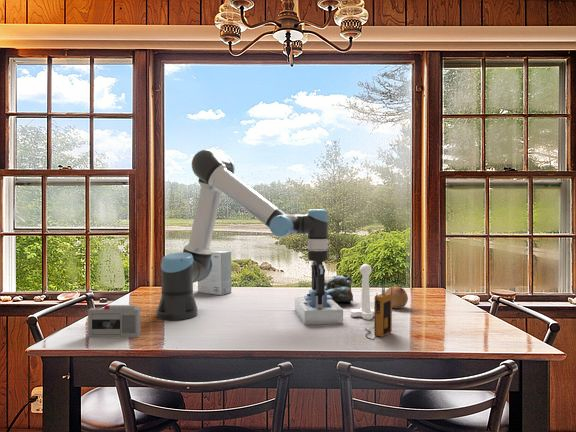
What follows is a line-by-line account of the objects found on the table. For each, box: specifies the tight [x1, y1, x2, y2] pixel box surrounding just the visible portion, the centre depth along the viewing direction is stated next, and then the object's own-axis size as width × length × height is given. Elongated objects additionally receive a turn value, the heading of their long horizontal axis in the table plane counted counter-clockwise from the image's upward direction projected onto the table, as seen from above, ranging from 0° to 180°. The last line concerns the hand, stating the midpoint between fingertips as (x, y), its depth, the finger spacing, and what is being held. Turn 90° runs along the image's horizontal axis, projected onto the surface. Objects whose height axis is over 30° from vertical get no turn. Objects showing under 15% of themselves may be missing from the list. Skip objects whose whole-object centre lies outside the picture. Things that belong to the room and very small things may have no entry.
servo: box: [303, 289, 332, 308], centre depth 163 cm, size 10×4×9 cm, turn 98°
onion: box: [385, 286, 409, 309], centre depth 177 cm, size 10×9×10 cm
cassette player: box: [87, 304, 142, 339], centre depth 138 cm, size 16×3×10 cm, turn 92°
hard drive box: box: [197, 250, 232, 296], centre depth 207 cm, size 16×8×20 cm, turn 58°
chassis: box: [294, 296, 344, 326], centre depth 163 cm, size 14×22×5 cm, turn 8°
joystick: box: [350, 263, 374, 320], centre depth 162 cm, size 11×8×20 cm
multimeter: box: [363, 272, 393, 341], centre depth 143 cm, size 15×10×20 cm
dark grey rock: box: [325, 274, 354, 303], centre depth 187 cm, size 15×12×14 cm
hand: (317, 310), depth 163 cm, fingers closed on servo, 4 cm apart
